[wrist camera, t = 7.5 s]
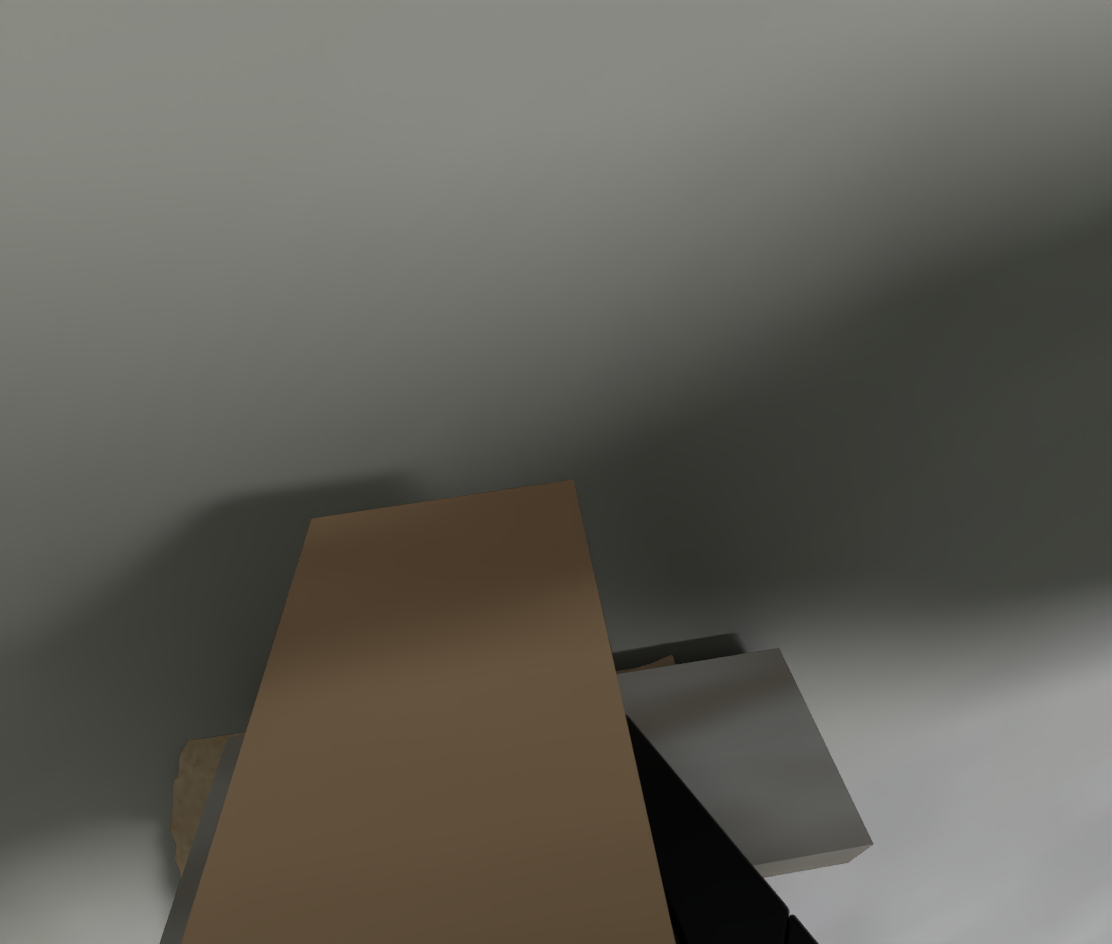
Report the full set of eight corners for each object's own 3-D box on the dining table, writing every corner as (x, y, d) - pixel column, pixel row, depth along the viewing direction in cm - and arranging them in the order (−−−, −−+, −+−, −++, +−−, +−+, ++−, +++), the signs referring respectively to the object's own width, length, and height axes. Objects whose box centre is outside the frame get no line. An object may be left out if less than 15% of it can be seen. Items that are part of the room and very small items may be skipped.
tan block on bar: (-6, 565, 6) (-512, 1163, 3) (867, 435, 6) (1246, 843, 3) (259, 761, 10) (172, 1079, 7) (766, 677, 10) (885, 948, 7)
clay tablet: (721, 1005, 15) (763, 1150, 13) (381, 1078, 15) (354, 1239, 12) (669, 587, 10) (720, 685, 8) (165, 689, 10) (47, 823, 8)
